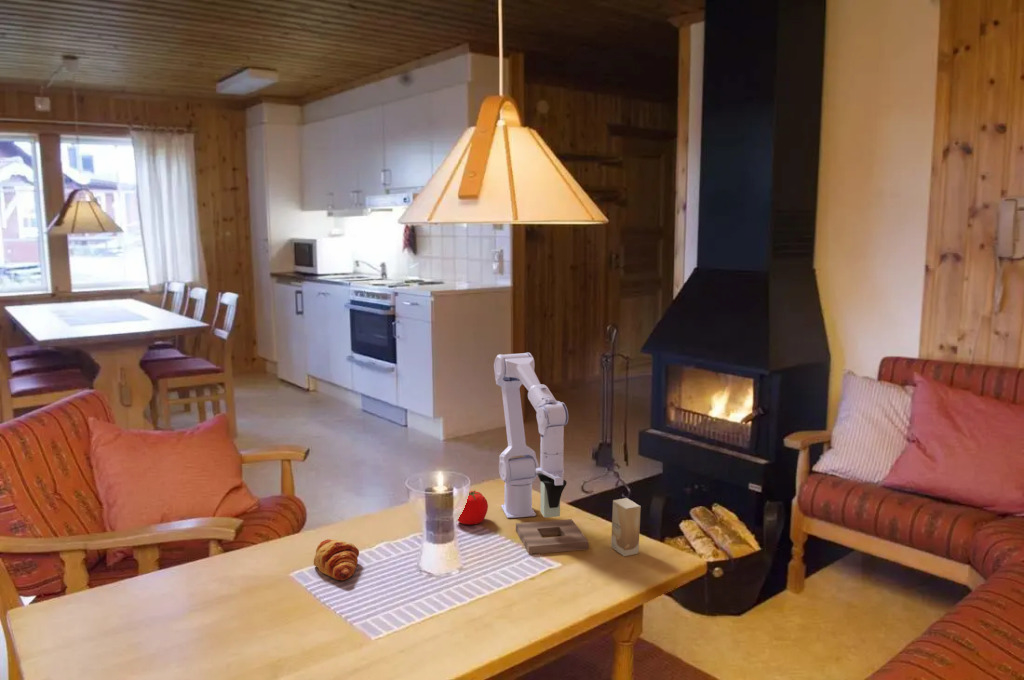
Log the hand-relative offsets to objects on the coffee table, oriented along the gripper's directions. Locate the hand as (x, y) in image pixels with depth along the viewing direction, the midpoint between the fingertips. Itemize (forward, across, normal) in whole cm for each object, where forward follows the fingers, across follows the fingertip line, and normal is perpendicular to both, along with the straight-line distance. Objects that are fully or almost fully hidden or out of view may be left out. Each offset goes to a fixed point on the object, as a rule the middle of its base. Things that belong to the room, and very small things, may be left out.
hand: (551, 504), depth 196 cm
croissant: (+10, +5, -53) cm, 54 cm away
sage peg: (+3, 0, 0) cm, 3 cm away
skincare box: (+10, +10, +16) cm, 21 cm away
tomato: (+10, -16, -18) cm, 26 cm away
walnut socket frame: (+9, 0, 0) cm, 9 cm away
